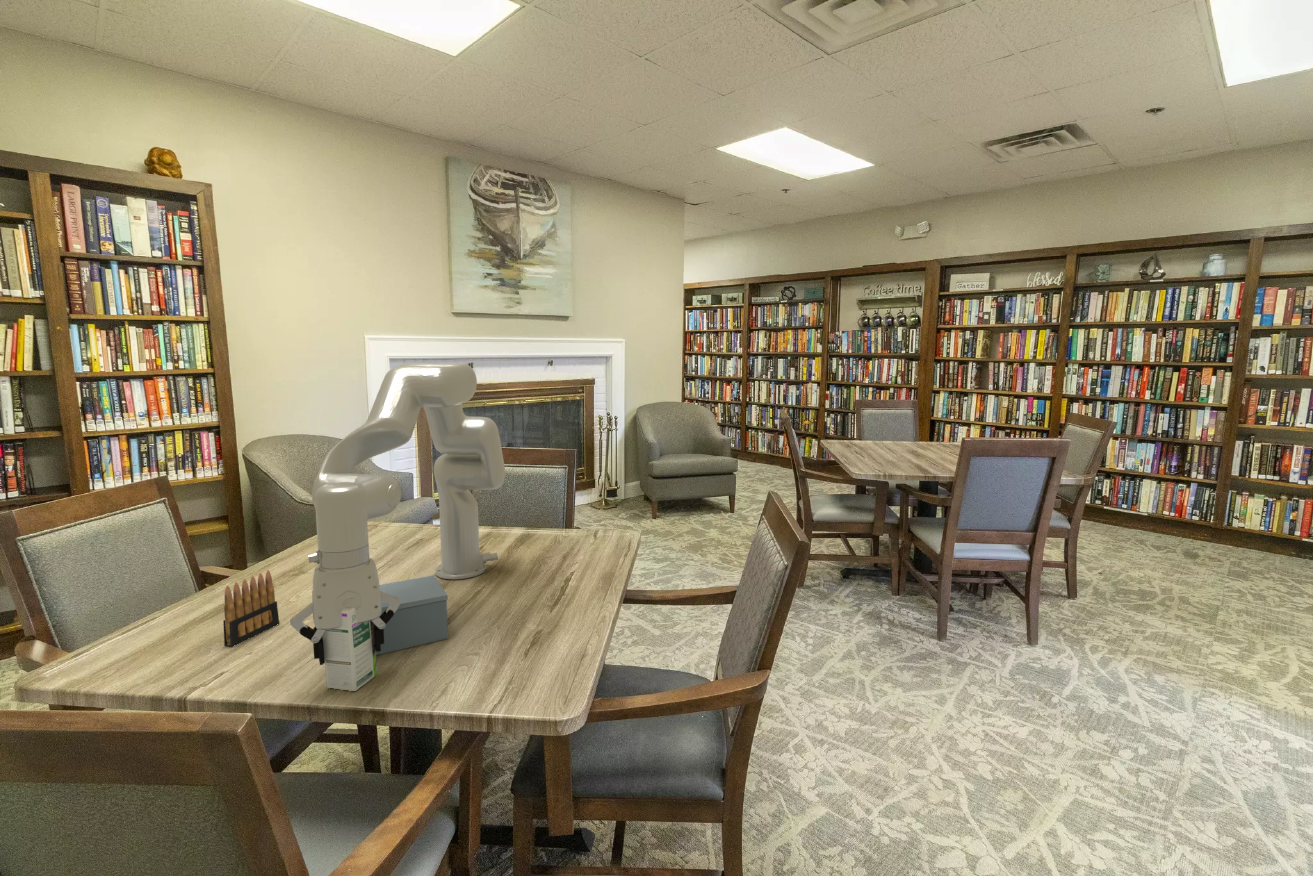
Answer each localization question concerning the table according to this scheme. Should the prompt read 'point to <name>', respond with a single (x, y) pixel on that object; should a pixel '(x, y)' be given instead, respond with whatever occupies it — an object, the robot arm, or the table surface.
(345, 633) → the syrup box
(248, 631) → the ammunition clip
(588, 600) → the table surface
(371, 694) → the table surface
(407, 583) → the lid
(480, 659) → the table surface
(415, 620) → the box
